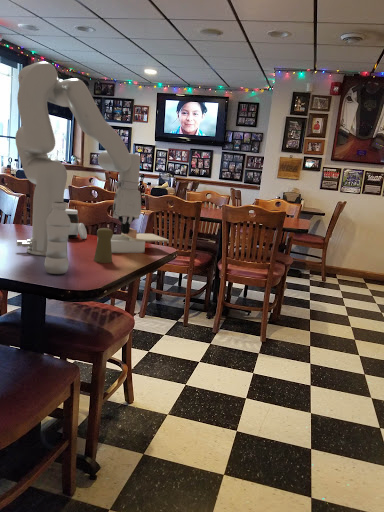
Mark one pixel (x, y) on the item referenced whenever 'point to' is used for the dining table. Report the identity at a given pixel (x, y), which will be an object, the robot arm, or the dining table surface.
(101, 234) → the olive pepper mill
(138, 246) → the mailer box
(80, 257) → the dining table surface
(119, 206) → the robot arm
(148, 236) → the lid
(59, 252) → the plastic bottle
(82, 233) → the spread jar
